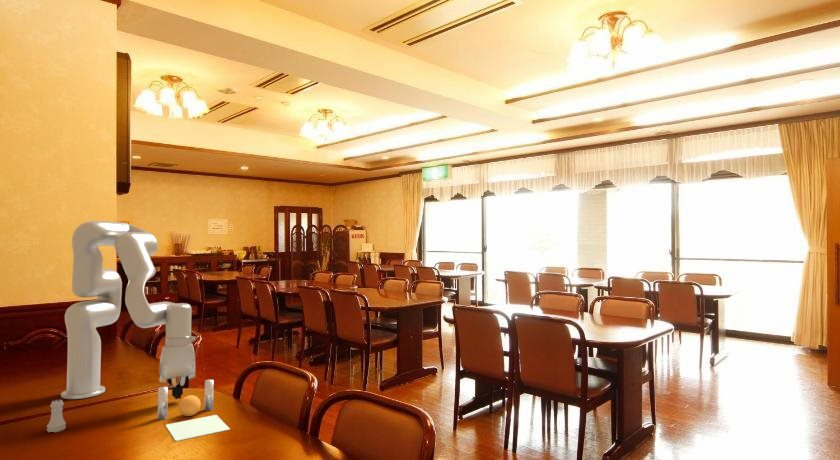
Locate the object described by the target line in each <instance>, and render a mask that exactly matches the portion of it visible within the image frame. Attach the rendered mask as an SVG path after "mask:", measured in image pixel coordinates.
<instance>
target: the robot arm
mask: <svg viewBox="0 0 840 460" xmlns="http://www.w3.org/2000/svg"><path fill="white" fill-rule="evenodd" d="M101 246H105V247H106V246H107V247H111V246H113V247H114V249H115V252H116V255H117V256H118V258H119V261H120V264H121V265H122V268H123V270H124V272H125V275H126V276H127V277H126V278H127V279H128V283H127V284H126V288H125V297H124V301H125V306H126V308H127V311H128V314H129V315H130V319H131V320H132V322H133V323H134V324H135V325H136V326H137V327H139V328H141V329H148V328H152V327H157V326H162V325H165V345H163V346H162V348H161V353H160V360H159V375H160V376H159V379H158V380H159V382H160V383H168V384H169V385H170V386H171V396H172V397H173V398H174V399H175V400H177V399H182V396H183V395H184V386H185V384H186V383H187V382H188V381H189V380H190V379H194V378H195V377H196V355H195V348H194V345H193V341H196V340H197V337H196V336H194V335H192V312H193V311H192V306H191V304H189V303H187V302H186V303H184V302H181V303H180V302H179V303H175V302H171V301H159V302H152V303H149V302H148V300H147V297H146V294H145V285H146V283H147V281H149V280H150V279H151V278H153V277H154V276H155V274H156V273H157V272H156V267H155V266H154V263H153V261H152V259H151V256H153V255H155V254H156V253H157V252H158V249H159V243H158V239H157V238H156V237H155V235H154V234H153V233H150V232H149V231H147V230H144V229H142V228H139V227H137V226H136V225H132V224H130V223H127V222H124V221H123V222H122V221H108V220H91V221H86V222H82V223H81V224H79V225H78V226H77V227H76V228H75V230H74V231H73V233H72V237H71V247H72V255H73V257H72V259H73V261H72V276H71V277H72V278H71V279H72V281H71V289H72V291H71V292H72V293H73V295H74V296H76V297H77V298H94V297H96V299H94V300H93V299H91V300H85V301H79V302H75V303H73V304H72V305H70V306H69V307H68V308H67V309H66V311H65V313H64V324H65V326H66V327H65V328H66V334H67V335H66V336H67V362H66V363H67V365H66V369H67V370H66V390H65V389H64V391H61V393H60V397H61V399H63V400H64V399H65V400H79V399H86V398H87V399H88V398H92V397H95V396H99V395H102V394H103V393H105V392H106V387H105V386H104V385H101V366H102V365H101V360H102V359H101V358H102V357H101V355H102V341H101V336H100V334H99V332H98V331H97V328H99V327H105V326H109V325H112V324H114V323H115V322H117V320H119V317H120V314H121V308H122V294H123V291H122V290H123V289H122V288H123V281H122V278H121V275H120V274H119V273H118V272H117V271H116V270H114V269H112V268H103V266H104V265H103V264H104V258H103V253H102V252H101V249H100V248H99V247H101ZM177 378H179V379H178V382H177V380H176V379H177Z"/></svg>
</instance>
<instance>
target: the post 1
mask: <svg viewBox="0 0 840 460" xmlns="http://www.w3.org/2000/svg"><path fill="white" fill-rule="evenodd" d="M168 396H169V386H160V387H158V388H157V420H167V418H168V410H169V409H168V403H169V397H168Z"/></svg>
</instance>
